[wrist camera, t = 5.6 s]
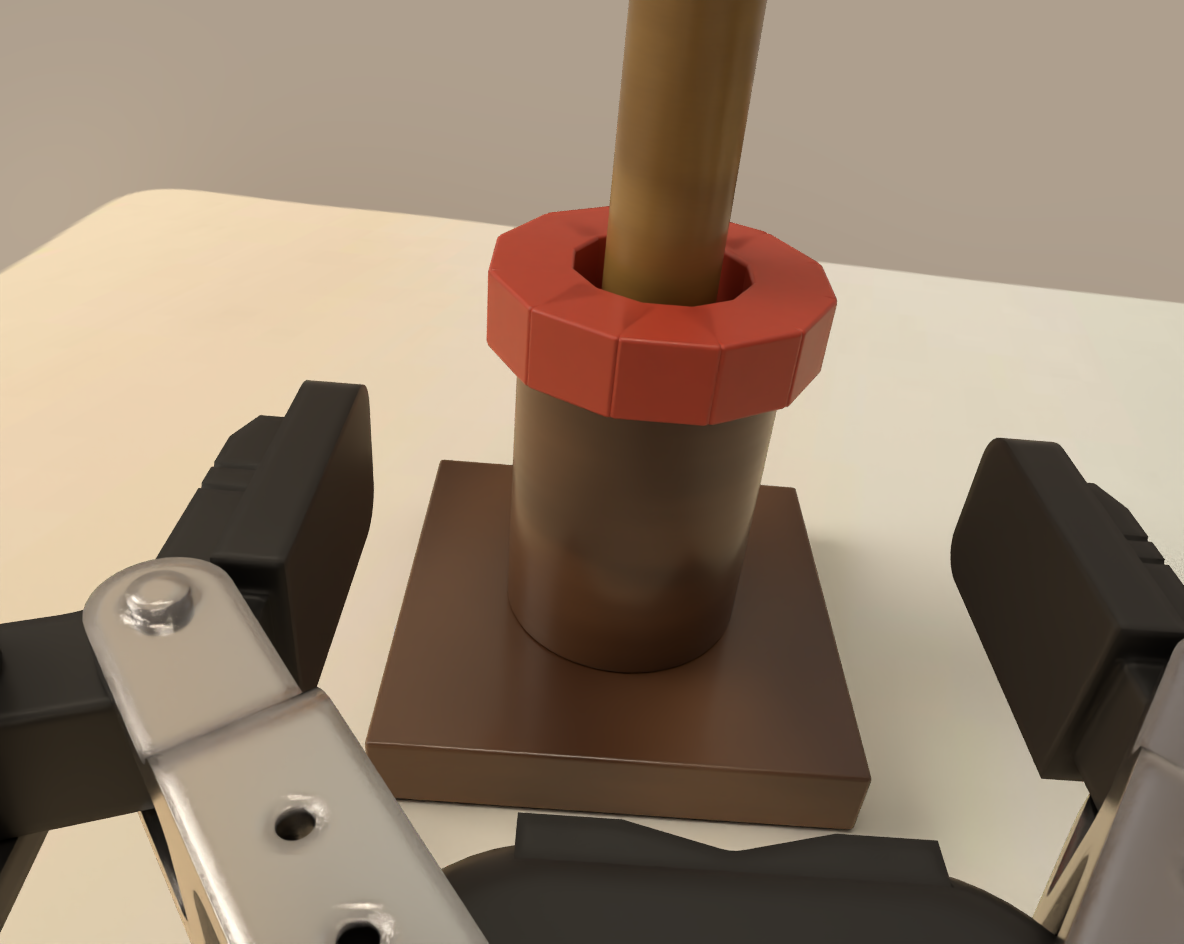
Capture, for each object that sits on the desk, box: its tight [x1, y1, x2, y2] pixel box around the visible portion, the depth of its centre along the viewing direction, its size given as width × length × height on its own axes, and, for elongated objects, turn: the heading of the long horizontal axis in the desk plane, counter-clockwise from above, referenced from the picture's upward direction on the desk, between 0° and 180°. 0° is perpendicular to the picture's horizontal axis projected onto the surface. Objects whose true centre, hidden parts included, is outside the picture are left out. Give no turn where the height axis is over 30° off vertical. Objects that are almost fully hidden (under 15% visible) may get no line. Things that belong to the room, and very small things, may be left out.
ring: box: [487, 206, 837, 426], centre depth 17 cm, size 6×6×1 cm
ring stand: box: [365, 0, 871, 829], centre depth 17 cm, size 9×9×15 cm
